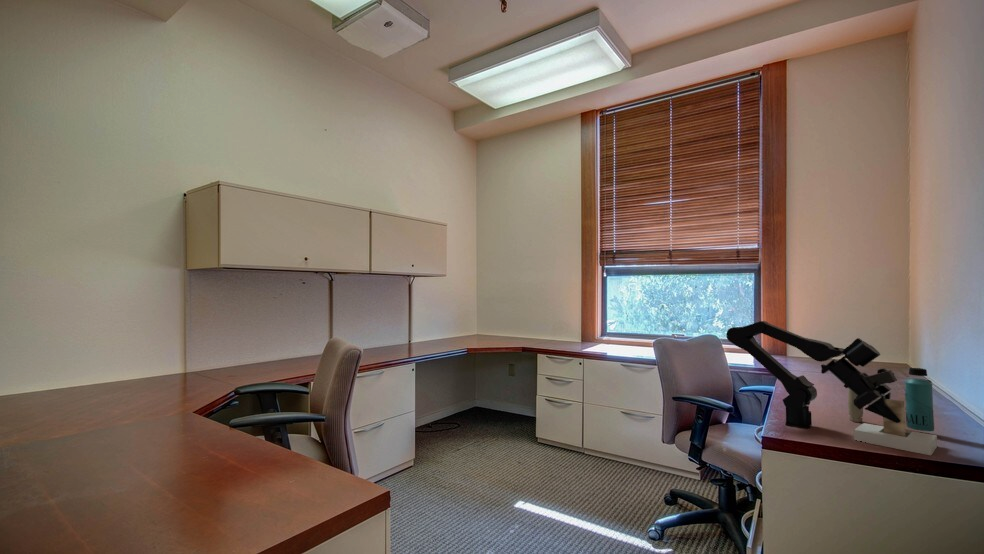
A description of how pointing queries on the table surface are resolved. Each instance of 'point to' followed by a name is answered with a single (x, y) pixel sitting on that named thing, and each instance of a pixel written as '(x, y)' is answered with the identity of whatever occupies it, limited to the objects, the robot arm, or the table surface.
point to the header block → (896, 439)
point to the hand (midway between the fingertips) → (900, 420)
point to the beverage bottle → (919, 401)
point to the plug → (898, 409)
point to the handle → (854, 408)
